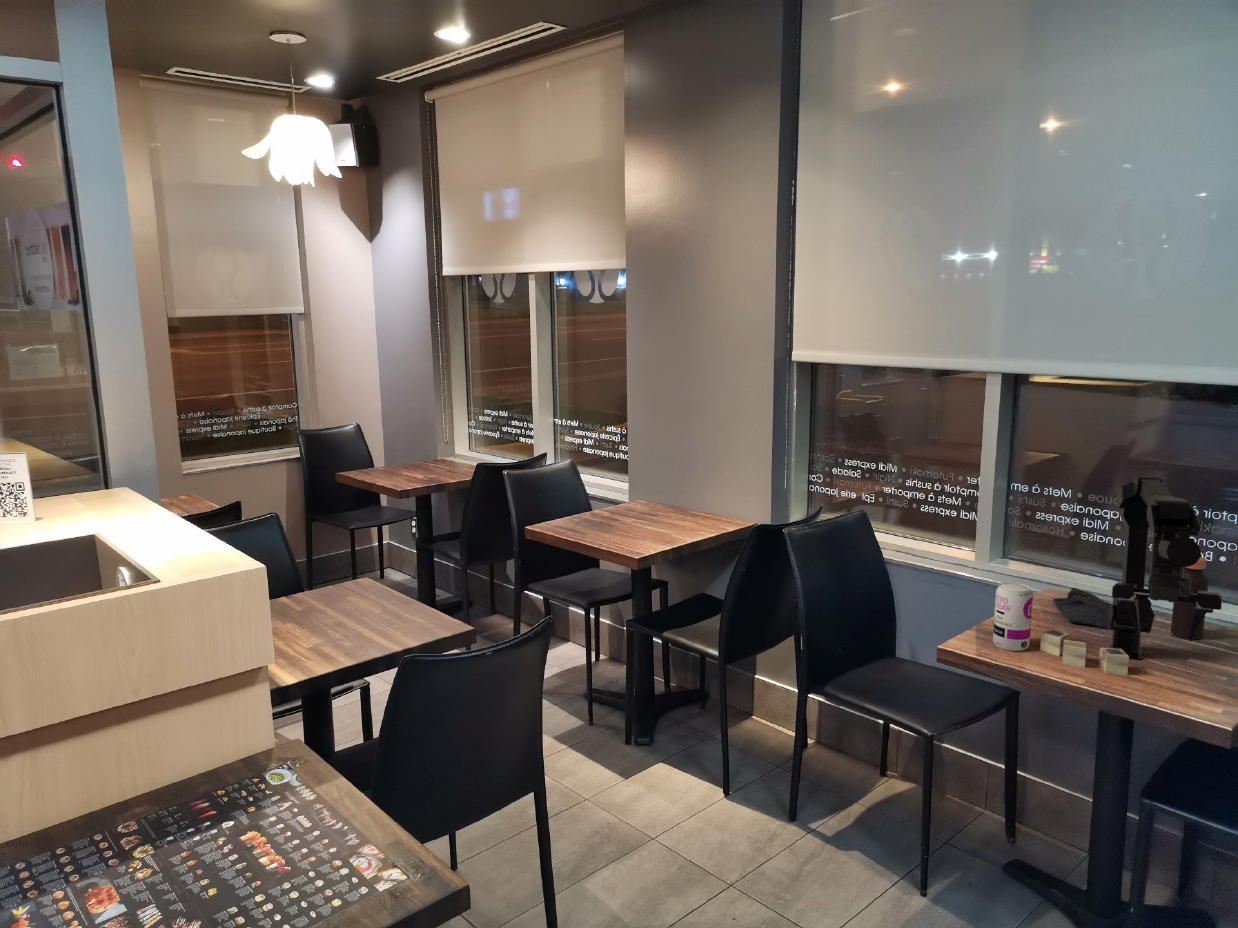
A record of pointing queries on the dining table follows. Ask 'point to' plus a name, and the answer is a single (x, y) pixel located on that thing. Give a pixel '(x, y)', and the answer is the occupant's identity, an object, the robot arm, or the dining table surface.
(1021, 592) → the supplement can
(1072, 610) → the dark slate chunk
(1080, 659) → the plain block
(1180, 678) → the dining table surface
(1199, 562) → the bottle
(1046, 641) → the labelled block
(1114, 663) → the labelled block
